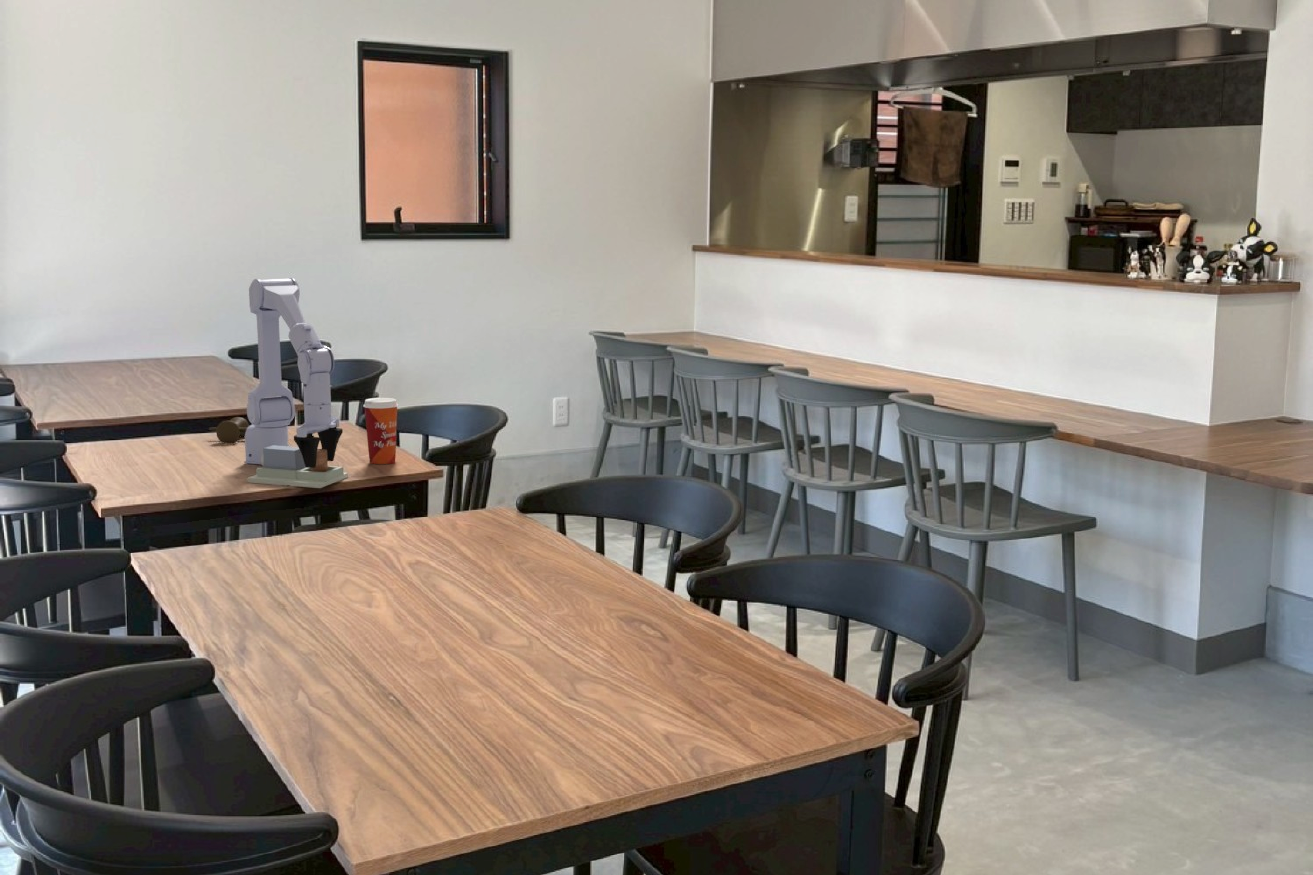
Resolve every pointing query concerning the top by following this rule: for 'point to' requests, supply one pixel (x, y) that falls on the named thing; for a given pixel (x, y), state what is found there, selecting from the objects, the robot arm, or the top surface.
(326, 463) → the tail peg
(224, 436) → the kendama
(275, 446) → the grey-blue box block
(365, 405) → the coffee cup
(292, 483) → the tray
